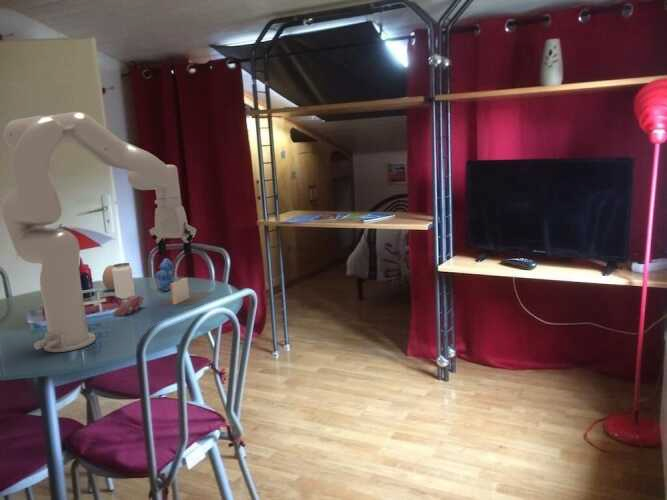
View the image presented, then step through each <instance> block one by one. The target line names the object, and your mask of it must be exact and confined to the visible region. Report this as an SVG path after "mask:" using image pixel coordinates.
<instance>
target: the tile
mask: <svg viewBox="0 0 667 500" xmlns="http://www.w3.org/2000/svg"><path fill="white" fill-rule="evenodd" d="M169 290H170V298H171V300H172V304H174V305H175V306H176V304H178V303H180V302H182V301H184V300H186V299H188V298H189V291H190V290H189V284H188V278H187V277H183V278H180V279H178V280H176V281H175V280H174V281H173V282H172V283H171V284H170V289H169ZM174 305H173V306H174Z"/></svg>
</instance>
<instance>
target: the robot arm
mask: <svg viewBox="0 0 667 500" xmlns="http://www.w3.org/2000/svg"><path fill="white" fill-rule="evenodd" d="M3 139H4V141H5V142H6V144H7V145H8V146H9V147H10V148H11V149H13V150H12V154H11V157H10V158H11V160H10V170H11V175H12V178H13V179H12V180H13V182H14V186H15V189H13V190H11V191H9V192H8V193H7V194H6V195H5V196H4V199H3V200H2V205H1V213H2V217H3V220H4V223H5V226H6V229H7V231H8V233H9V237H10V240H11V242H12V247H13V249H14V250H15V253H17V256H18V257H20V259H22V260H23V261H24V262H27V263H30V264H38V265H40V264H41V270H40V274H39V275H40V276H39V286H40V292H41V297H42V299H41V300H42V303H43V309H44V316H45V322H46V328H47V332H46V333H44V338H42V339H41V340H38V341H36V342H34V343H33V348H34V349H35V350H41V349H43V350H44V351H46V352H49V353H61V352H62V353H64V352H69V351H74V350H78V349H81V348H85V347H87V346H89V345H91V344H93V343H94V342H95V341H96V335H95V334H94V333H92V332H89V329H88V328H89V327H88V322H87V314H86V309H85V303H84V301H85V300H84V294H83V290H82V289H83V288H82V281H81V274H80V254H81V253H80V252H81V251H80V250H81V249H80V244H79V240H78V239H77V237H76V236H75V234H73V233H72V232H70V231H68V230H66V229H62V228H50V227H49V228H47V227H46V226H48V225H52V224H55V223H57V222H58V221H59V219H61V216H62V213H63V210H62V204H61V200H60V198H59V195H58V191H57V189H56V185H55V181H54V178H53V175H52V172H51V171H52V170H51V159H52V156H53V154H54V153H55V150H56V149H57V148H58V147H60V146H68V145H75V146H77V147H78V148H80V149H82V150H83V151H84V152H85V153H87V154H89V155H90V156H92V157H93V158H95V159H96V160H97V161H99V162H100V163H102V164H104V165H106V166H110V167H112V168H116V169H122V170H126V171H129V172H128V175H127V180H128V183H129V185H130V186H131V187H132V188H134V189H136V190H140V191H151V190H155V196H156V199H155V200H154V204H155V205H157V207H156V208H155V210H154V227H151V229H149V234H150V235H151V236H152V239H153V240H154V241H155V243H156V244H157V249H158V254H159V255H160V256H162V255H165V254H167V253H168V252H167V245H166V241H164V240H165V239H181V240H182V241H183V244H182V247H183V254H184V255H185V256H188V255H191V254H192V249H193V248H192V241H193V239H195V236H196V233H197V228H196V227H193V226H192V225H190V224H188V219H187V214H186V211H185V208H184V206H183V205H182V198H181V190H180V182H179V181H180V180H179V173H178V167H177V166H176V165H174V164H166V163H165V162H164V161H162V160H160V159H159V158H158V157H157V156H156V155H154V154H152V153H150V152H149V151H147V150H145V149H143V148H140V147H138V146H135V145H133V144H130V143H128V142H126V141H124V140H122V139H121V138H119V137H117V136H116V135H115V134H113V133H112V132H111V131H110V130H108V129H107V128H106V127H104V126H103V125H102V124H101V123H99V122H98V121H97V120H95V119H94V118H93V117H92V116H90V115H88V114H87V113H84V112H82V111H71V112H70V111H69V112H65V113H57V114H52V115H35V116H29V117H24V118H17V119H13V120H11V121H9V122H8V123H7V124H6V125H5V126H4V130H3Z"/></svg>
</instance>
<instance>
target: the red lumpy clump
mask: <svg viewBox="0 0 667 500" xmlns="http://www.w3.org/2000/svg"><path fill="white" fill-rule="evenodd" d="M143 301H144V297H143V296H141V295H137V294H135V295H133V296H130V297H128V298H127V299H123V302H121V304H120V305H119V306H118V307H117V308H116V309H115V310H114V312H113V317H123V316H124V315H129V314H131V313H132V312H135V311H137V310H138V308H140V306H141V305H142V304H143Z"/></svg>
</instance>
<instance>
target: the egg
mask: <svg viewBox="0 0 667 500" xmlns="http://www.w3.org/2000/svg"><path fill="white" fill-rule="evenodd" d="M113 265H114V264H113ZM113 265H108V266H107V267H105V268H104V270H103V273H102V284H103V285H104V286H105V288H106V289H107V290H110V291H115V288H114V281H113V273H112V269H113Z"/></svg>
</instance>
